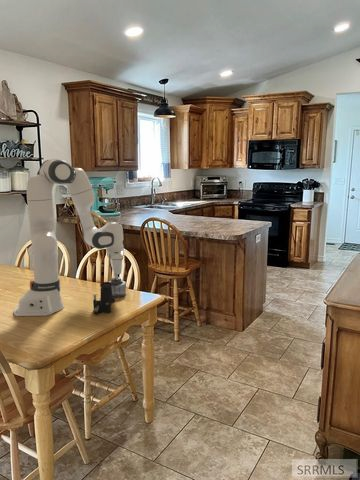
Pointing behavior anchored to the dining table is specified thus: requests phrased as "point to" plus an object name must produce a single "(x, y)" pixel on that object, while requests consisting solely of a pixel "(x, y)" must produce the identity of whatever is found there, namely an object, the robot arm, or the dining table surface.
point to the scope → (104, 299)
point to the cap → (116, 281)
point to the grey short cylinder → (119, 290)
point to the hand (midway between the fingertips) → (115, 277)
